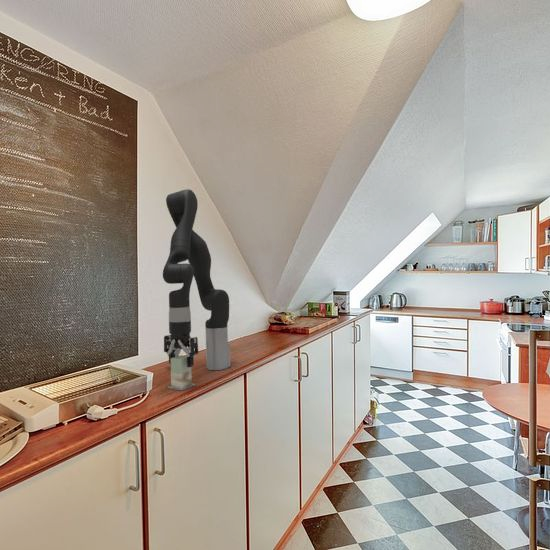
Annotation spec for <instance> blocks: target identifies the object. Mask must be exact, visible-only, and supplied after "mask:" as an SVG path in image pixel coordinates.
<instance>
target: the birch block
mask: <svg viewBox="0 0 550 550" xmlns="http://www.w3.org/2000/svg"><path fill="white" fill-rule="evenodd" d="M192 383H193V381H192V370H191V371H189V372H186V373H183V374H178V373H171V372H170V386H171V387H176V388H181V389H182V388H184V387H187V386H189V385H192Z"/></svg>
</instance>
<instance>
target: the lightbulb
mask: <svg viewBox="0 0 550 550" xmlns="http://www.w3.org/2000/svg"><path fill="white" fill-rule="evenodd" d="M167 348H168V346H167ZM181 350H182V349H179V348H178V349H176V351H175V353H174V354H175V357H177V356H180V353H181ZM165 354H166V355H167V356H168V357H169V354H168V353H167V352H165Z"/></svg>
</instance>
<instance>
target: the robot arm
mask: <svg viewBox="0 0 550 550" xmlns="http://www.w3.org/2000/svg"><path fill="white" fill-rule="evenodd" d="M197 198H198V197H197V195H196V194H195V192H194V191H193V190H192V189H189V188H188V189H187V188H186V189H182V190H179V191H176V192H173V193H169V194H167V195H166V198H165V201H166V207H167V210H168V212H169V215H170V217H171V220H172V221H173V224H174V225H175V229H174V231H173V232H172V235H171V239H170V246H169V247H170V248H169V255H168V257H167V261H166V262H165V264H164V266H163V270H162V278H163V281H164V282H165V283H166V284H172V285H174V284H182V287H181V288H178V289H175V290H172V291H170V292H169V294H168V307H169V308H168V332H169V334H168V335H164V336H163V352H164V353H166V352H167V353H168V354H169V356H168V364H169V365H170V366H171V358H173V357H175V354H174V353H175V351H176V349H178V348H179V349H181V350H182V351H183V353H185V355H186V356H188V357H187V367H191V368H192V367H193V366H194V363H195V362H194V356H196V355H198V354H199V340H198V337H197V336H194V337H191V335H190V334H191V332H192V322H191V321H192V320H191V318H192V317H191V315H192V314H191V309H190V308H191V307H190V291H191V286H192V283H193V278H194V281H195V283H196V288H197V291H198V296H199V299H200V302H201V306H202V307H203V308H204V309H205V310H206V311H210V318H208V319H206V320H205V323H204V324H205V325H204V326H205V354H206V356H205V358H206V369H207V370H210V371H221V370H226V369H228V368H230V366H231V345H230V344H229V339H228V338H229V337H228V336H229V335H228V334H229V333H228V322H229V320H230V297H229V294H228V292H227V291H226V290H224V289H216V288H215V286H214V284H213V281H212V278H211V268H212V257H211V253H210V250H209V248H208V244H207V242H206V241H205V240H204V239H203V237H201V236H200V235H199V234H198V233H197V232H196V231H195V230H194V224H195V220H196V216H197V212H198V207H199V206H198V203H199V202H198V199H197ZM186 261H188V263H183V262H186ZM167 346H168V348H167ZM167 353H166V354H167ZM168 354H167V355H168ZM231 367H232V366H231Z"/></svg>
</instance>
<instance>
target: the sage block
mask: <svg viewBox="0 0 550 550" xmlns="http://www.w3.org/2000/svg"><path fill="white" fill-rule="evenodd" d="M187 357H188V356H187V355H182V354H181V355H180V354H179V356H177V357H173V358H171V365H170V374H171V373H178V374H183V373H186V372H189V371H191V372H192V367H187Z"/></svg>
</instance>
